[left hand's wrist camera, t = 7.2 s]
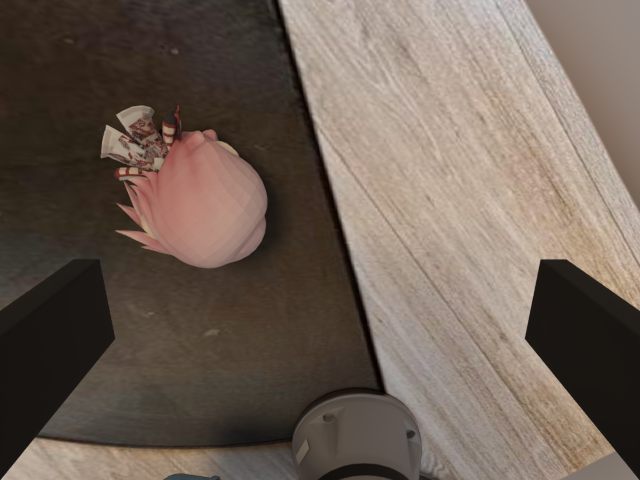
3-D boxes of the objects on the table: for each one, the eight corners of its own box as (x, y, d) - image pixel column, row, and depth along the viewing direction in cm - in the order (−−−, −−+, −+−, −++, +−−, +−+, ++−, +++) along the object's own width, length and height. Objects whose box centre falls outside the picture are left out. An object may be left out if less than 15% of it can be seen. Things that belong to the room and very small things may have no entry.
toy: (80, 188, 38) (205, 294, 41) (18, 182, 28) (192, 326, 30) (171, 95, 39) (288, 206, 42) (145, 55, 28) (303, 207, 31)
